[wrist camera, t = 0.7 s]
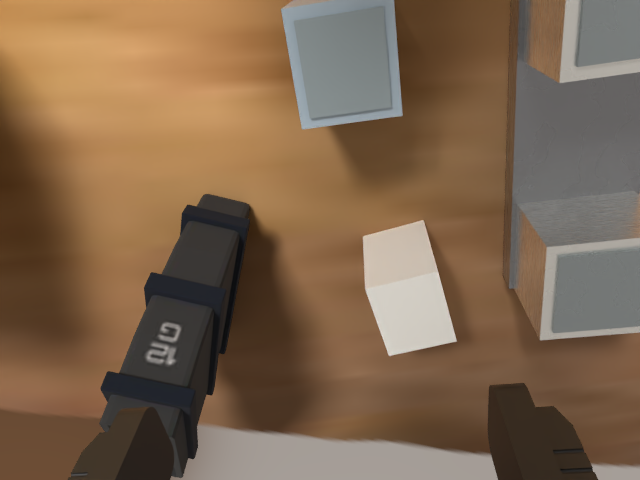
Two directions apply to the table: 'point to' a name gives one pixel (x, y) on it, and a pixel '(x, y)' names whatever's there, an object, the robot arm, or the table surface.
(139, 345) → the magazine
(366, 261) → the block
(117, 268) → the table surface
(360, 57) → the block
